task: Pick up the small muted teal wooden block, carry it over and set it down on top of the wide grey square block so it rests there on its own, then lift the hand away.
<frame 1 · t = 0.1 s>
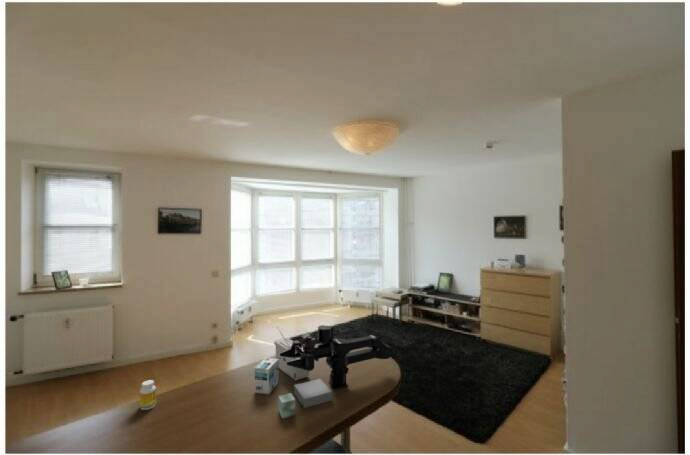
hand: (283, 359, 133), 17 cm above the table, tool horizontal, fingers open, 9 cm apart
grey square block: (312, 397, 135), on the table
teal block: (286, 413, 124), on the table
supplement bottle: (148, 406, 127), on the table
light bulb box: (267, 387, 142), on the table
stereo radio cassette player: (291, 372, 157), on the table
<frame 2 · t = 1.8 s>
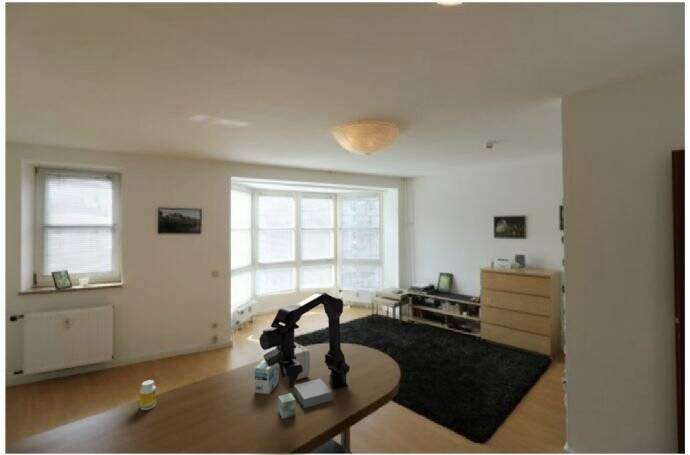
hand: (286, 382, 123), 12 cm above the table, tool pointing down, fingers open, 9 cm apart
nothing on the table moved.
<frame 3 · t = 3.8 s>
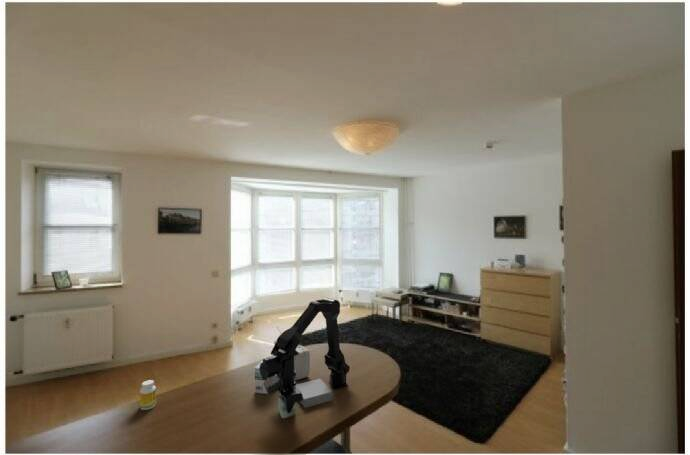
hand: (286, 409, 124), 2 cm above the table, tool pointing down, fingers closed on teal block, 5 cm apart
teal block: (286, 413, 124), on the table, touching gripper
everything else where it was.
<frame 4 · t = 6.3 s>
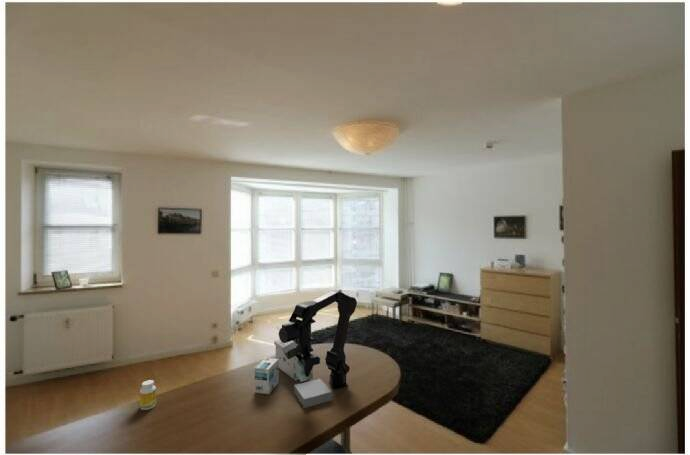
hand: (304, 373, 131), 12 cm above the table, tool pointing down, fingers closed on teal block, 5 cm apart
teal block: (304, 377, 131), point 10 cm above the table, touching gripper
everything else where it was.
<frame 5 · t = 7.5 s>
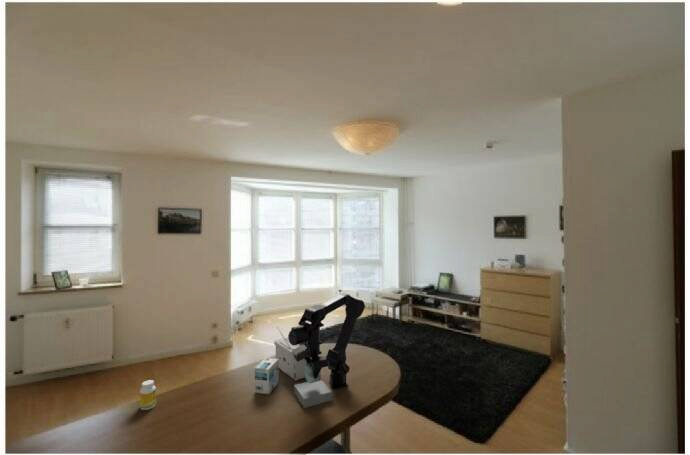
hand: (312, 375, 135), 9 cm above the table, tool pointing down, fingers closed on teal block, 5 cm apart
teal block: (312, 379, 135), point 7 cm above the table, touching gripper
everything else where it was.
when the fingers open (7 cm above the table, at t = 8.7 s): teal block drops 2 cm, resting on grey square block.
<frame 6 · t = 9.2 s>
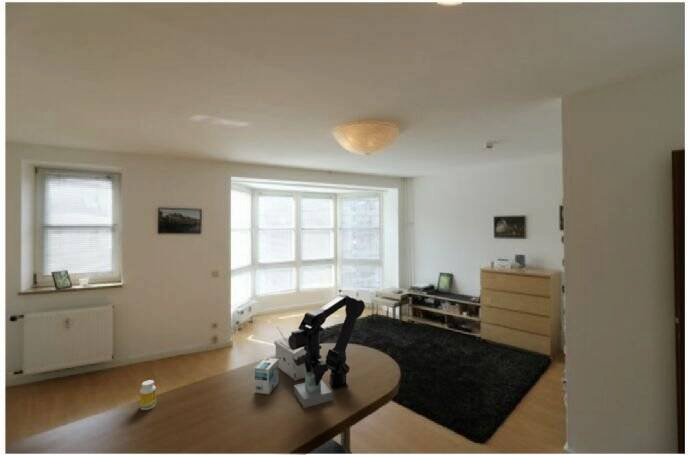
hand: (312, 380, 135), 7 cm above the table, tool pointing down, fingers open, 9 cm apart
grey square block: (312, 397, 135), on the table, touching teal block
teal block: (312, 388, 135), point 4 cm above the table, touching grey square block
everything else where it was.
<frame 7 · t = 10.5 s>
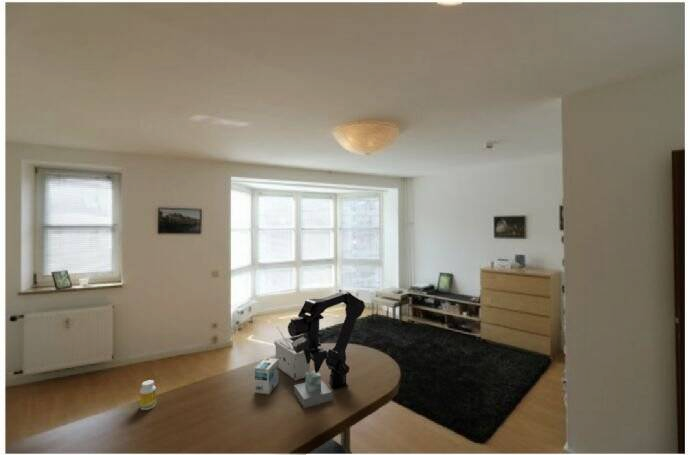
hand: (312, 367, 135), 12 cm above the table, tool pointing down, fingers open, 9 cm apart
nothing on the table moved.
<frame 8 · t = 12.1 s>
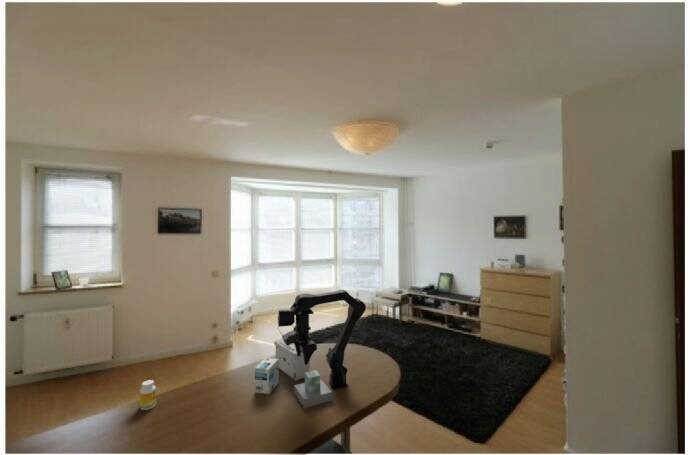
hand: (302, 360, 140), 13 cm above the table, tool pointing down, fingers open, 9 cm apart
nothing on the table moved.
at the end: teal block inside the target area on the grey square block (0.2 cm from its centre), point 4.0 cm above the grey square block's base; teal block tilted 0°; the gripper is holding nothing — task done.
